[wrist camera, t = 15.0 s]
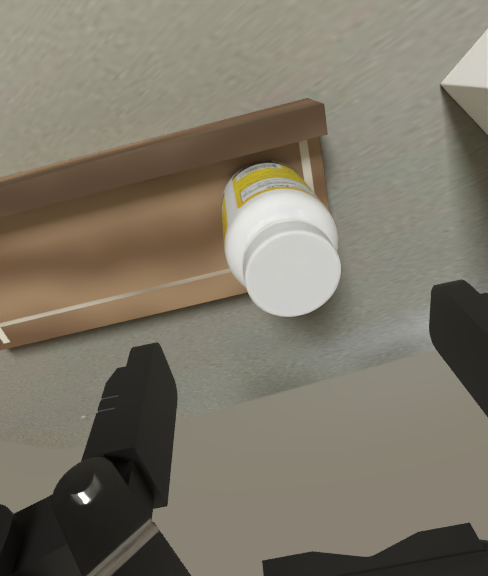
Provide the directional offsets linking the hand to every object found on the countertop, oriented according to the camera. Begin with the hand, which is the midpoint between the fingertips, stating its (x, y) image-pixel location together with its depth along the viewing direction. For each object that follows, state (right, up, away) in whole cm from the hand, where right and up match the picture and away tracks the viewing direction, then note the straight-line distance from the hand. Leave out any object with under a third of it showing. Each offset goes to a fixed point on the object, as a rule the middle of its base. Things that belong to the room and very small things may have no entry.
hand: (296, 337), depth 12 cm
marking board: (-9, +5, +15) cm, 19 cm away
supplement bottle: (0, +7, +13) cm, 15 cm away
